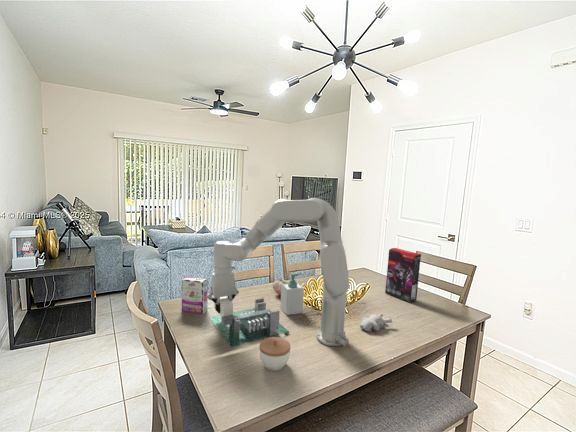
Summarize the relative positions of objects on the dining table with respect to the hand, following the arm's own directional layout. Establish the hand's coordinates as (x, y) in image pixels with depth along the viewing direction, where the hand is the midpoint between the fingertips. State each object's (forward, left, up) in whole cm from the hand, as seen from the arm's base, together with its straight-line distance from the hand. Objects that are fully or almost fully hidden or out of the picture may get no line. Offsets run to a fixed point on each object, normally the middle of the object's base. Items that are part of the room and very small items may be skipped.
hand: (223, 310), depth 131 cm
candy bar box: (+18, +8, -7) cm, 21 cm away
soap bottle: (0, -35, -7) cm, 36 cm away
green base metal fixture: (-5, -9, -7) cm, 13 cm away
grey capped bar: (-11, -7, -1) cm, 12 cm away
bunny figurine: (-31, -61, -7) cm, 68 cm away
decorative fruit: (+19, -40, -7) cm, 46 cm away
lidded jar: (-35, -6, -7) cm, 36 cm away
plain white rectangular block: (0, 0, -1) cm, 1 cm away
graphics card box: (-12, -102, -7) cm, 103 cm away
